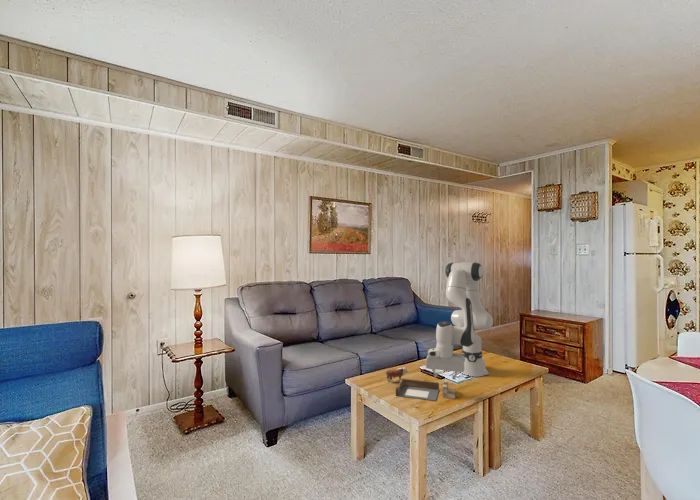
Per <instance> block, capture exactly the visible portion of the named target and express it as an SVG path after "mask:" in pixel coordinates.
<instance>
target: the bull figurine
mask: <svg viewBox="0 0 700 500" xmlns="http://www.w3.org/2000/svg"><path fill="white" fill-rule="evenodd" d="M385 372H386V373H385V374H386V381H387V382H390V381H391V383H392V384H393V383H395V382H394V380H393V379H395V378H397V377H398V382H400V380H401V379H402V377H403V376H404V375H405V374H406V373H409V370H408V369H407V368H406V366H404V367H399V368H396V369H388V370H386V371H385Z"/></svg>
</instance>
